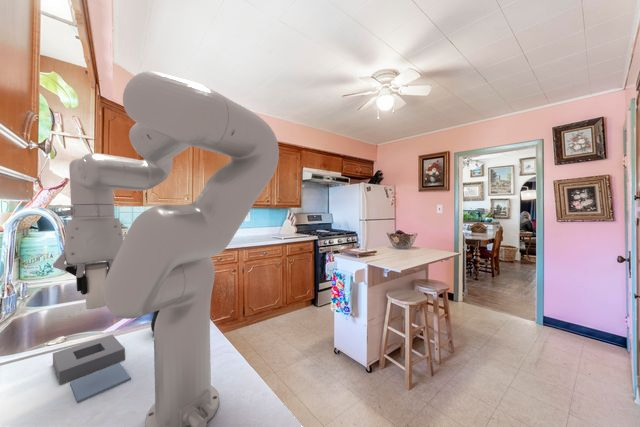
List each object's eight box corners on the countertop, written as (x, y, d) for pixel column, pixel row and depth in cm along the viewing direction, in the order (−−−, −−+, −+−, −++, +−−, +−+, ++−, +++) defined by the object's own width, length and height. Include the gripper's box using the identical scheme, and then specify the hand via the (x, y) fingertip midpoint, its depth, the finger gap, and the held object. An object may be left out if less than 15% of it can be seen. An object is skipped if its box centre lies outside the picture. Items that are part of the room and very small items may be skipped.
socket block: (125, 359, 66) (124, 348, 66) (59, 385, 57) (59, 371, 57) (112, 344, 74) (112, 334, 73) (52, 364, 64) (52, 353, 64)
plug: (111, 305, 60) (109, 262, 59) (87, 310, 56) (85, 266, 56) (107, 301, 62) (105, 261, 62) (83, 306, 59) (82, 264, 59)
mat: (130, 379, 58) (130, 377, 58) (77, 403, 51) (77, 400, 51) (119, 364, 64) (119, 362, 64) (70, 384, 57) (70, 382, 57)
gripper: (42, 213, 50) (46, 305, 50) (141, 211, 63) (144, 284, 63) (39, 214, 55) (43, 298, 55) (131, 212, 68) (134, 280, 68)
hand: (97, 289), depth 59 cm, fingers closed on plug, 4 cm apart
